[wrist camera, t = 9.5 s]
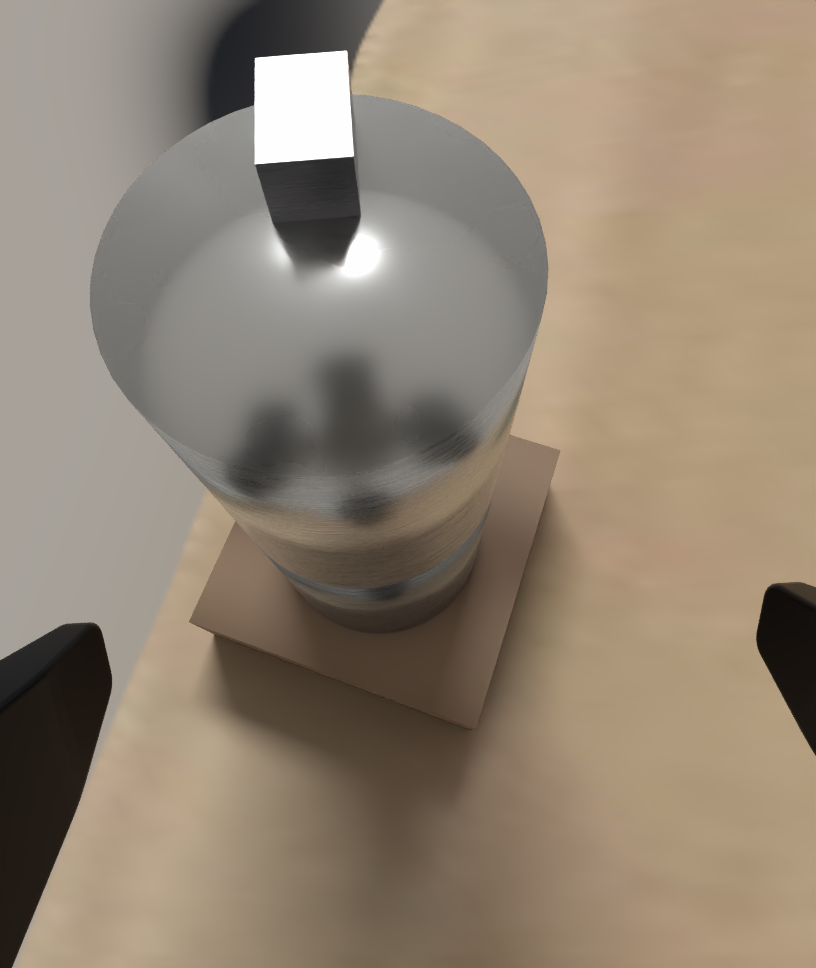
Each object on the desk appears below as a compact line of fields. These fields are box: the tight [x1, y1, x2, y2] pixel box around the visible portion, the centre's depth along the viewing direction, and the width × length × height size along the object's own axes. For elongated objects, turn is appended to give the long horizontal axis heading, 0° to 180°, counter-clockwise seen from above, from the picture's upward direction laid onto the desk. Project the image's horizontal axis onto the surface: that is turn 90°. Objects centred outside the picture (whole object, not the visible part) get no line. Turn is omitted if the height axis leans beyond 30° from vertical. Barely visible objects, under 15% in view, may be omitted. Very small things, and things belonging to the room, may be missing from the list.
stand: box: [189, 435, 560, 730], centre depth 22 cm, size 9×9×2 cm
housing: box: [90, 51, 548, 634], centre depth 15 cm, size 6×6×14 cm
